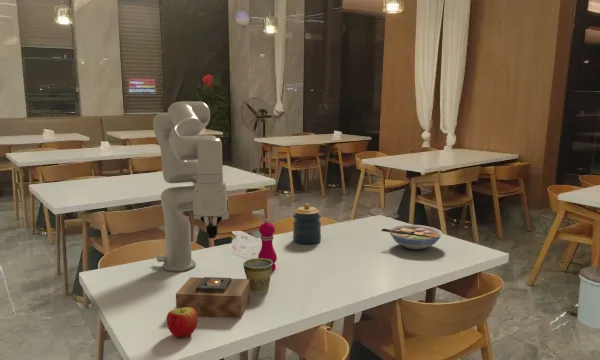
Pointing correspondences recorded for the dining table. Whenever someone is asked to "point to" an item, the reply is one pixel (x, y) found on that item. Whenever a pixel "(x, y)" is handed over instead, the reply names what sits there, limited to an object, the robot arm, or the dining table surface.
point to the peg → (214, 282)
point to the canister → (306, 225)
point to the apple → (182, 321)
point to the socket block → (215, 297)
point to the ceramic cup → (258, 274)
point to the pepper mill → (267, 242)
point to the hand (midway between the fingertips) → (212, 237)
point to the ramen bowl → (414, 236)
